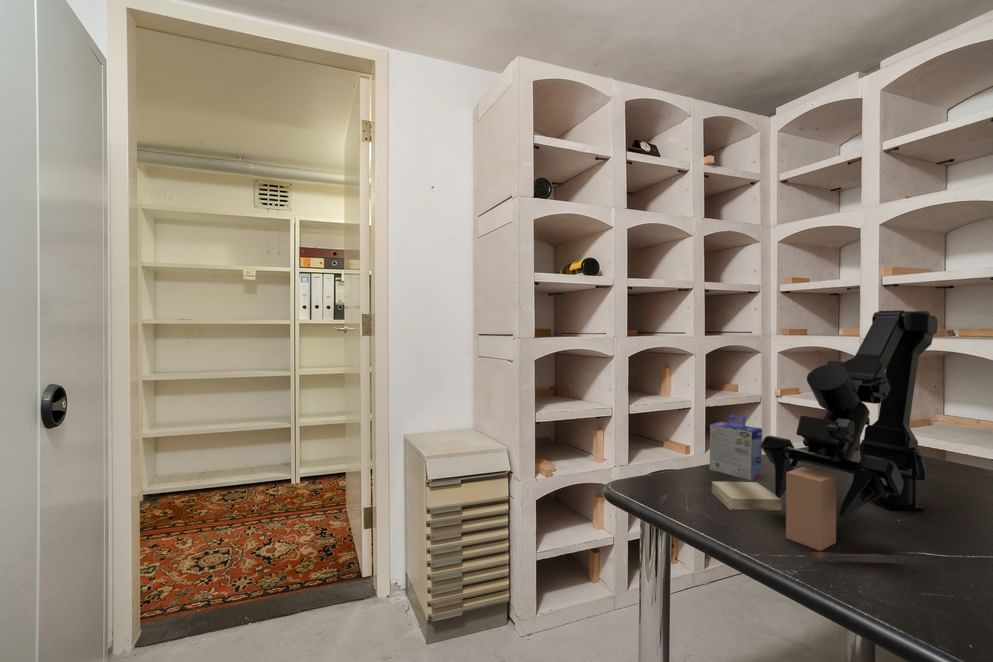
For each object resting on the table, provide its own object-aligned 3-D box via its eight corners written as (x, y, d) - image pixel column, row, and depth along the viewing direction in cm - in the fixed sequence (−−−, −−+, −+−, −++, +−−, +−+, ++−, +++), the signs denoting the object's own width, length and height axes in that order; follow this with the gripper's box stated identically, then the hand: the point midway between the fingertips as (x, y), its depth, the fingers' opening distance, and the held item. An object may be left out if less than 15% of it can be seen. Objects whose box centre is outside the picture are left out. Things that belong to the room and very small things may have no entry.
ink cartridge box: (763, 481, 103) (763, 417, 103) (752, 486, 100) (752, 421, 100) (720, 470, 111) (720, 411, 111) (708, 474, 108) (708, 414, 107)
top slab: (756, 492, 93) (756, 482, 93) (781, 510, 84) (781, 499, 84) (711, 491, 94) (711, 481, 94) (731, 509, 85) (731, 498, 85)
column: (801, 537, 76) (801, 467, 76) (835, 550, 72) (836, 475, 72) (785, 545, 74) (786, 472, 73) (820, 559, 69) (821, 481, 69)
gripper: (766, 391, 83) (730, 460, 77) (897, 407, 67) (863, 496, 61) (788, 428, 87) (756, 497, 81) (916, 452, 71) (886, 540, 65)
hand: (807, 505), depth 72 cm, fingers open, 9 cm apart
